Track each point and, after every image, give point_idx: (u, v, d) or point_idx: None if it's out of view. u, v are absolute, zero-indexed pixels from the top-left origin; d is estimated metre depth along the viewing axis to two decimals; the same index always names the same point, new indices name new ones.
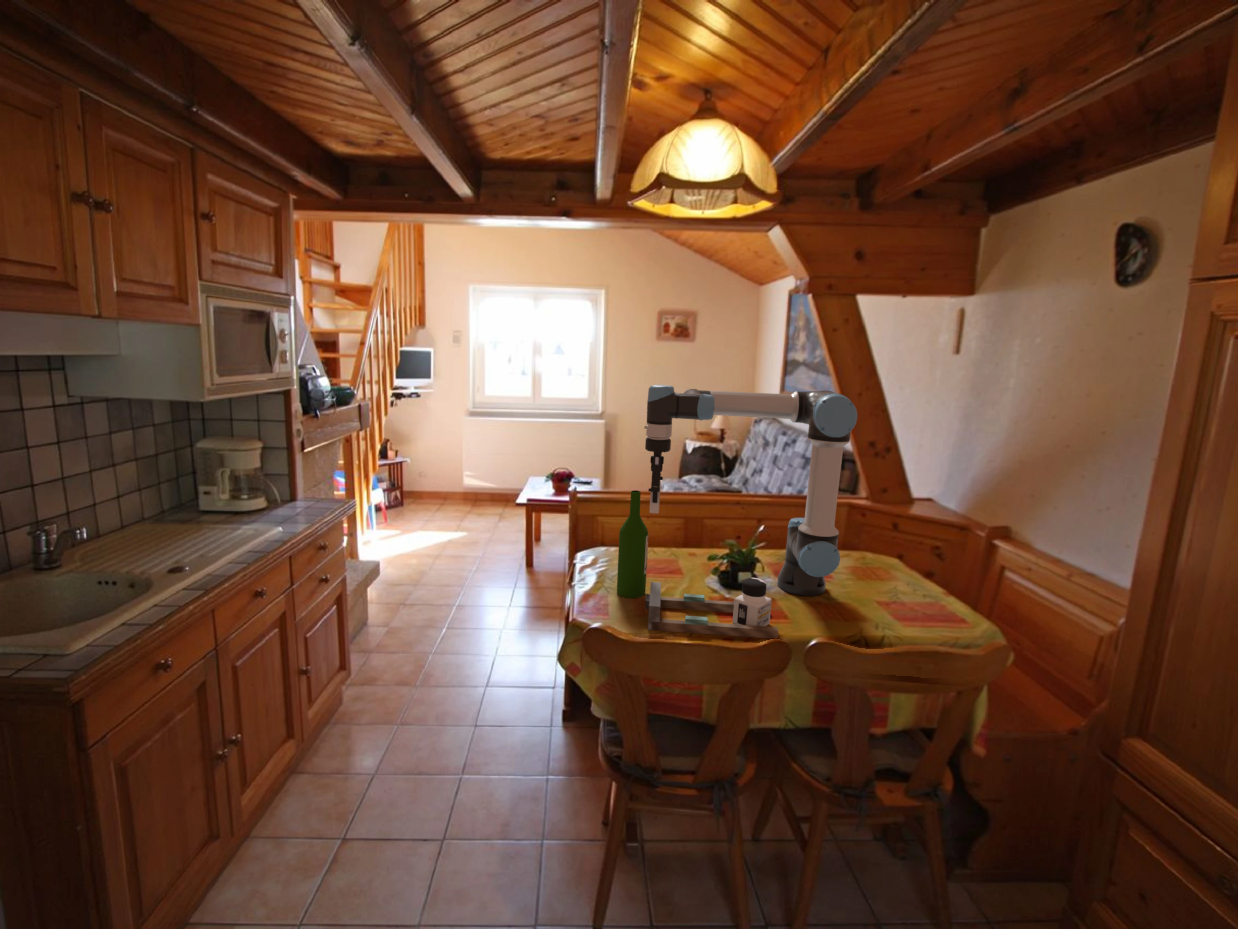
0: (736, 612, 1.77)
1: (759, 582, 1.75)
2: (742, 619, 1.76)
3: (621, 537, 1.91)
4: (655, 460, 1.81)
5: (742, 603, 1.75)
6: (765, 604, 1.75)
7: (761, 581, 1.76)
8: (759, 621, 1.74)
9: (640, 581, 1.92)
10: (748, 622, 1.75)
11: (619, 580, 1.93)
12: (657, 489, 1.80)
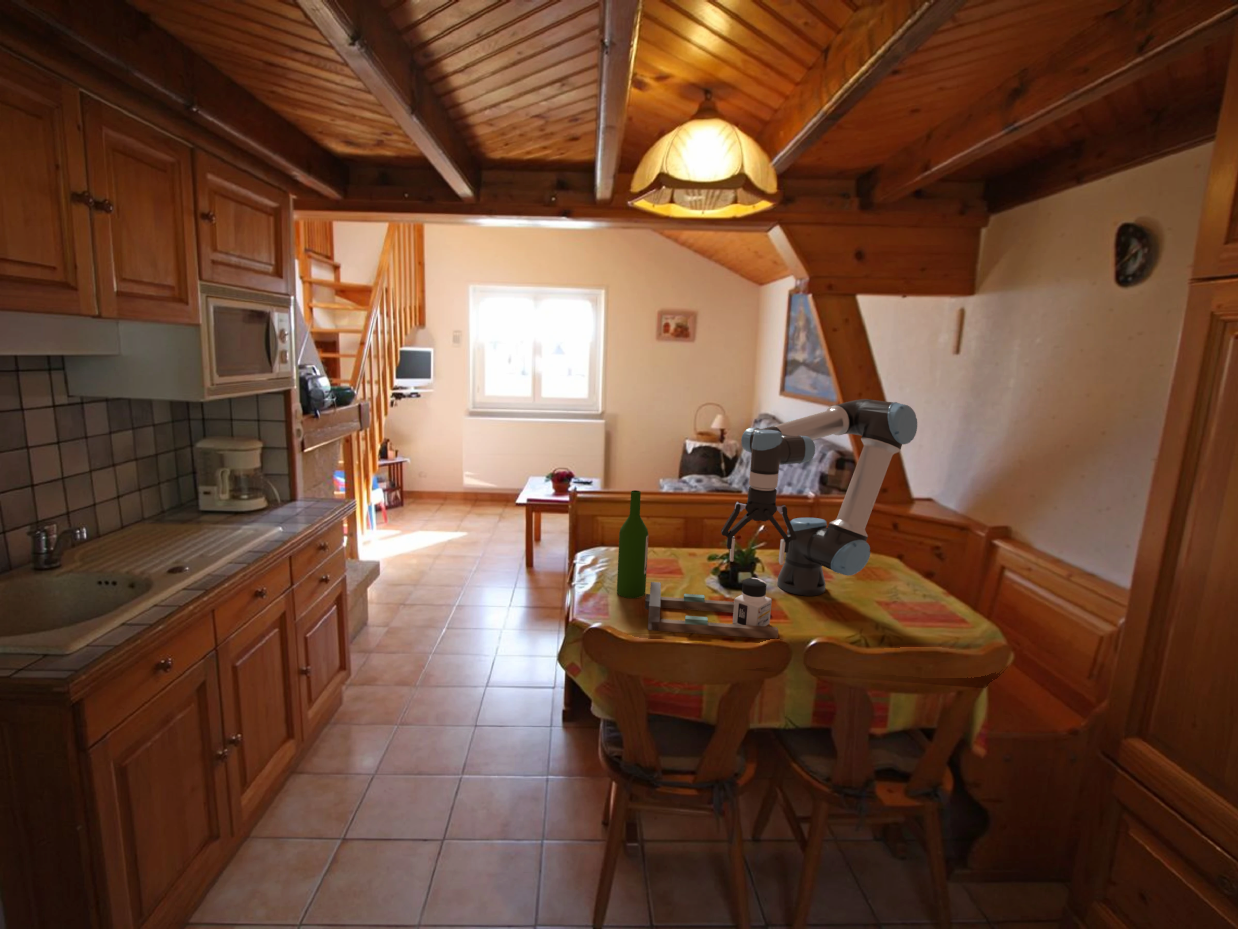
0: (736, 612, 1.77)
1: (759, 582, 1.75)
2: (742, 619, 1.76)
3: (621, 537, 1.91)
4: (735, 505, 1.73)
5: (742, 603, 1.75)
6: (765, 604, 1.75)
7: (761, 581, 1.76)
8: (759, 621, 1.74)
9: (640, 581, 1.92)
10: (748, 622, 1.75)
11: (619, 580, 1.93)
12: (721, 532, 1.73)
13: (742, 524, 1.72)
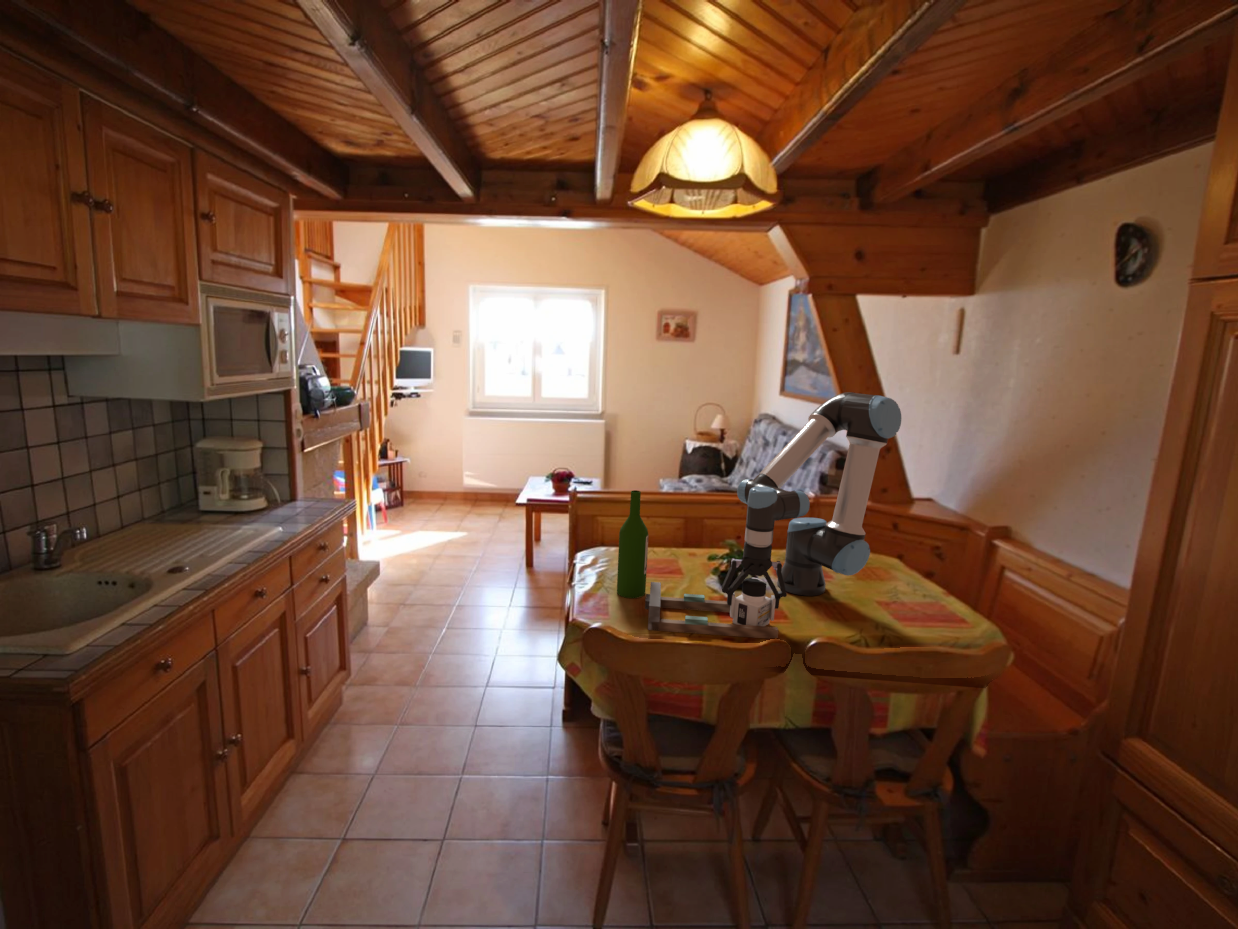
0: (736, 612, 1.77)
1: (759, 582, 1.75)
2: (742, 619, 1.76)
3: (621, 537, 1.91)
4: (731, 561, 1.76)
5: (742, 603, 1.75)
6: (765, 604, 1.75)
7: (761, 581, 1.76)
8: (759, 621, 1.74)
9: (640, 581, 1.92)
10: (747, 622, 1.75)
11: (619, 580, 1.93)
12: (722, 589, 1.77)
13: (740, 580, 1.75)
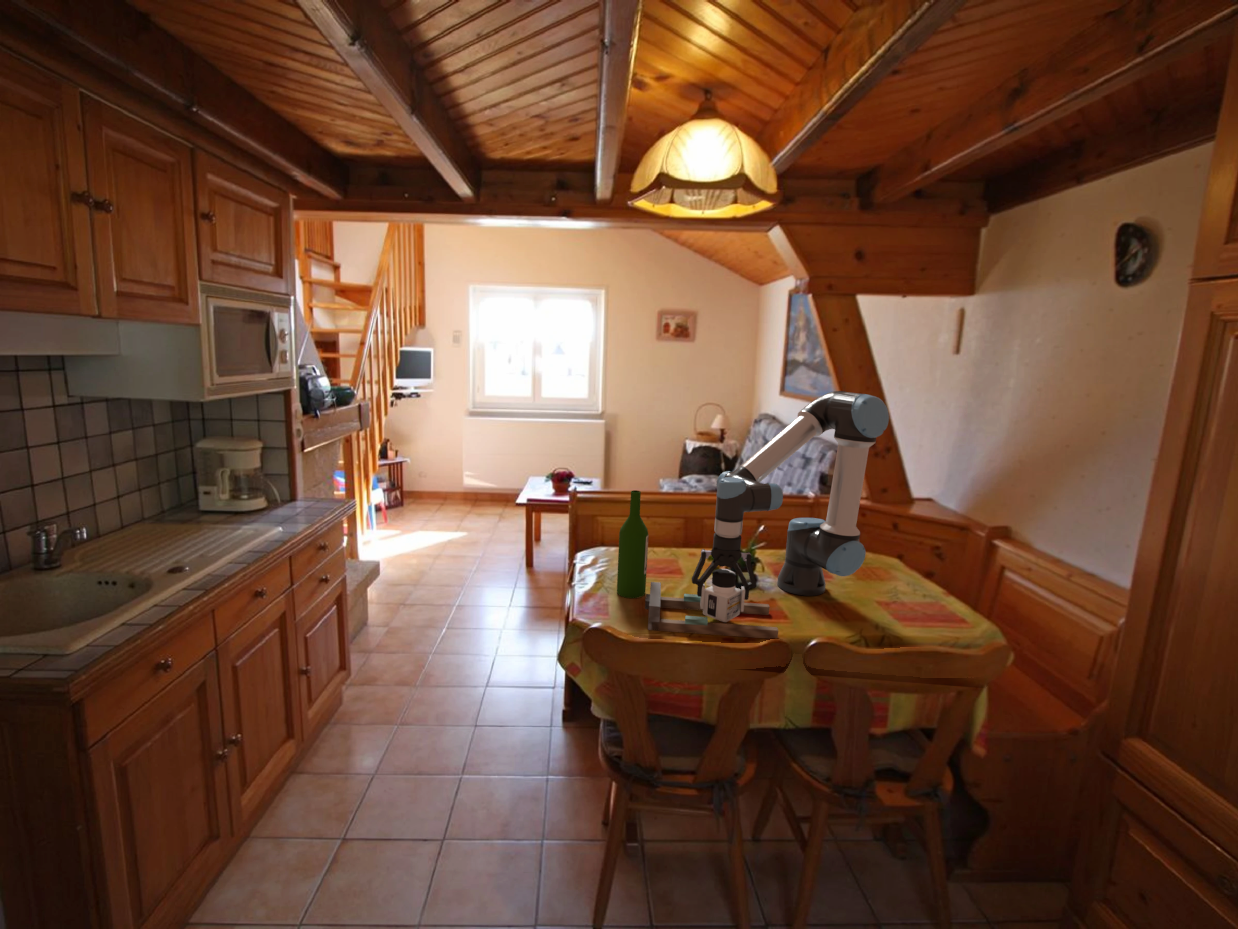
0: (706, 603, 1.77)
1: (729, 573, 1.75)
2: (712, 610, 1.76)
3: (621, 537, 1.91)
4: (701, 552, 1.76)
5: (712, 594, 1.75)
6: (735, 595, 1.75)
7: (731, 572, 1.76)
8: (728, 612, 1.74)
9: (640, 581, 1.92)
10: (717, 613, 1.75)
11: (619, 580, 1.93)
12: (692, 580, 1.77)
13: (710, 571, 1.75)
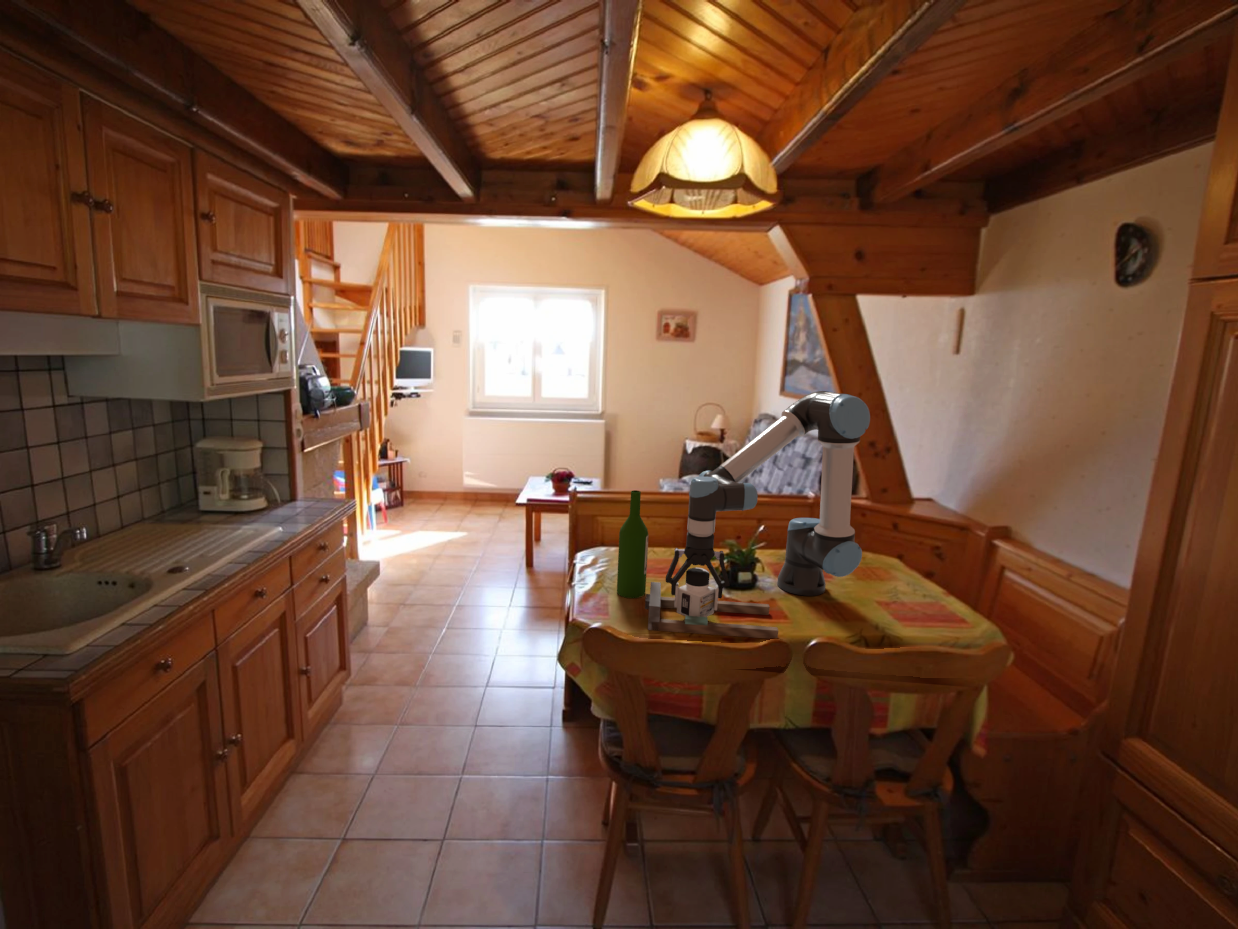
0: (680, 602, 1.78)
1: (702, 572, 1.75)
2: (685, 608, 1.76)
3: (621, 537, 1.91)
4: None
5: (685, 593, 1.76)
6: (708, 593, 1.76)
7: (704, 571, 1.76)
8: (701, 611, 1.74)
9: (640, 581, 1.92)
10: (690, 612, 1.75)
11: (619, 580, 1.93)
12: None
13: (683, 570, 1.76)
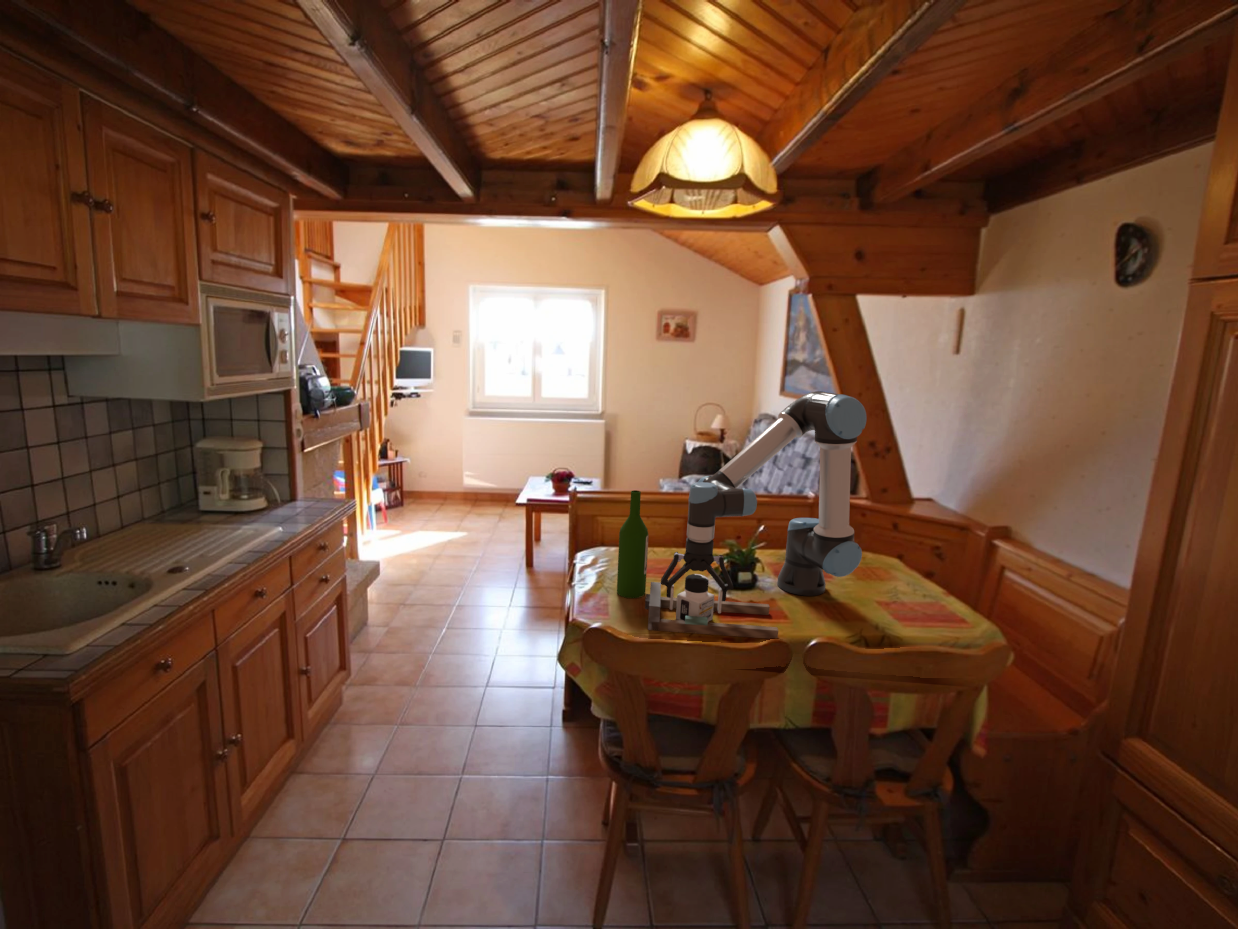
0: (679, 608, 1.78)
1: (701, 578, 1.76)
2: (684, 615, 1.77)
3: (621, 537, 1.91)
4: (674, 555, 1.77)
5: (684, 599, 1.76)
6: (707, 600, 1.76)
7: (703, 577, 1.77)
8: None
9: (640, 581, 1.92)
10: None
11: (619, 580, 1.93)
12: (661, 582, 1.78)
13: (680, 574, 1.76)
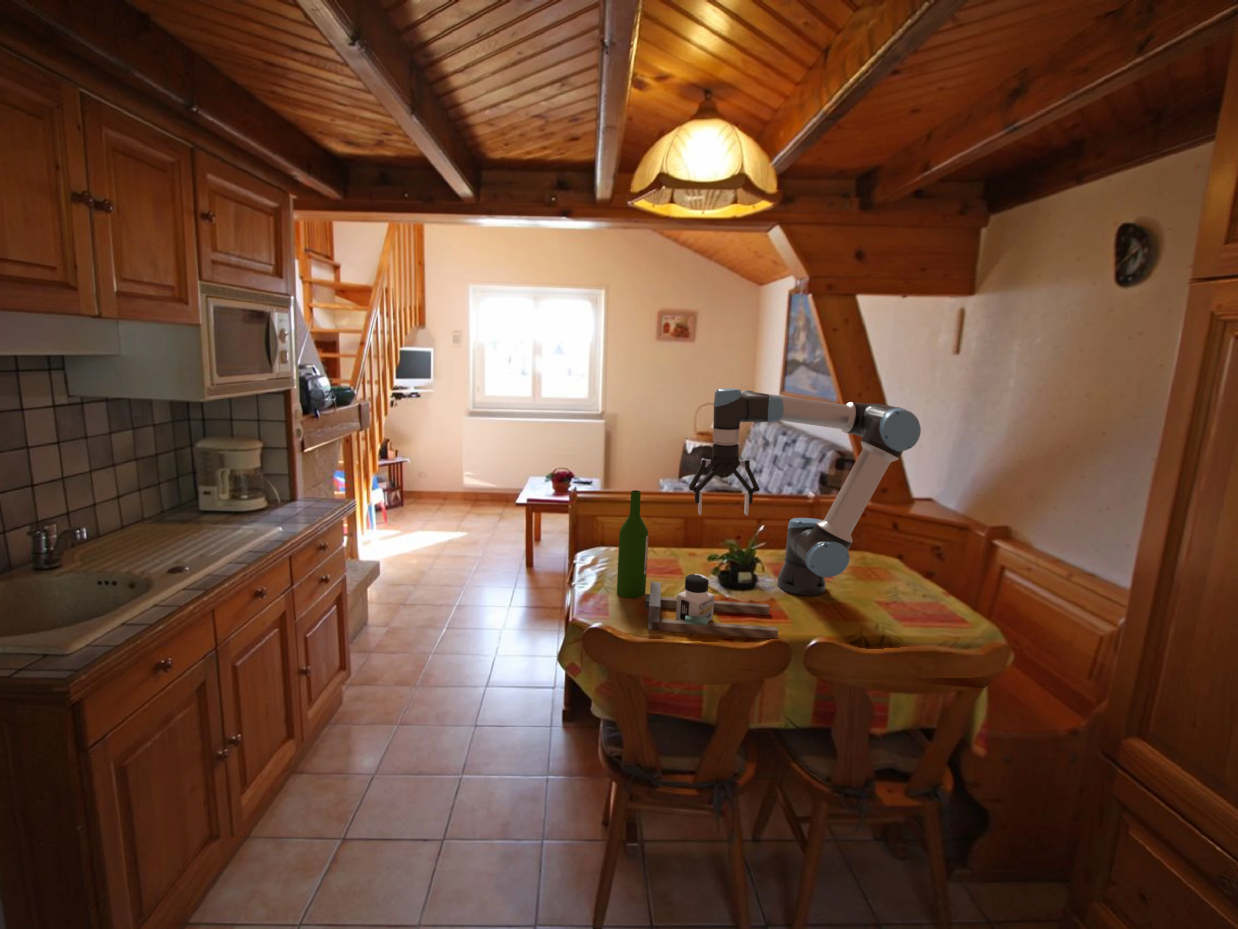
0: (679, 608, 1.78)
1: (701, 578, 1.76)
2: (684, 615, 1.77)
3: (621, 537, 1.91)
4: (701, 461, 1.83)
5: (684, 599, 1.76)
6: (707, 600, 1.76)
7: (703, 577, 1.77)
8: None
9: (640, 581, 1.92)
10: None
11: (619, 580, 1.93)
12: (689, 487, 1.84)
13: (708, 478, 1.82)
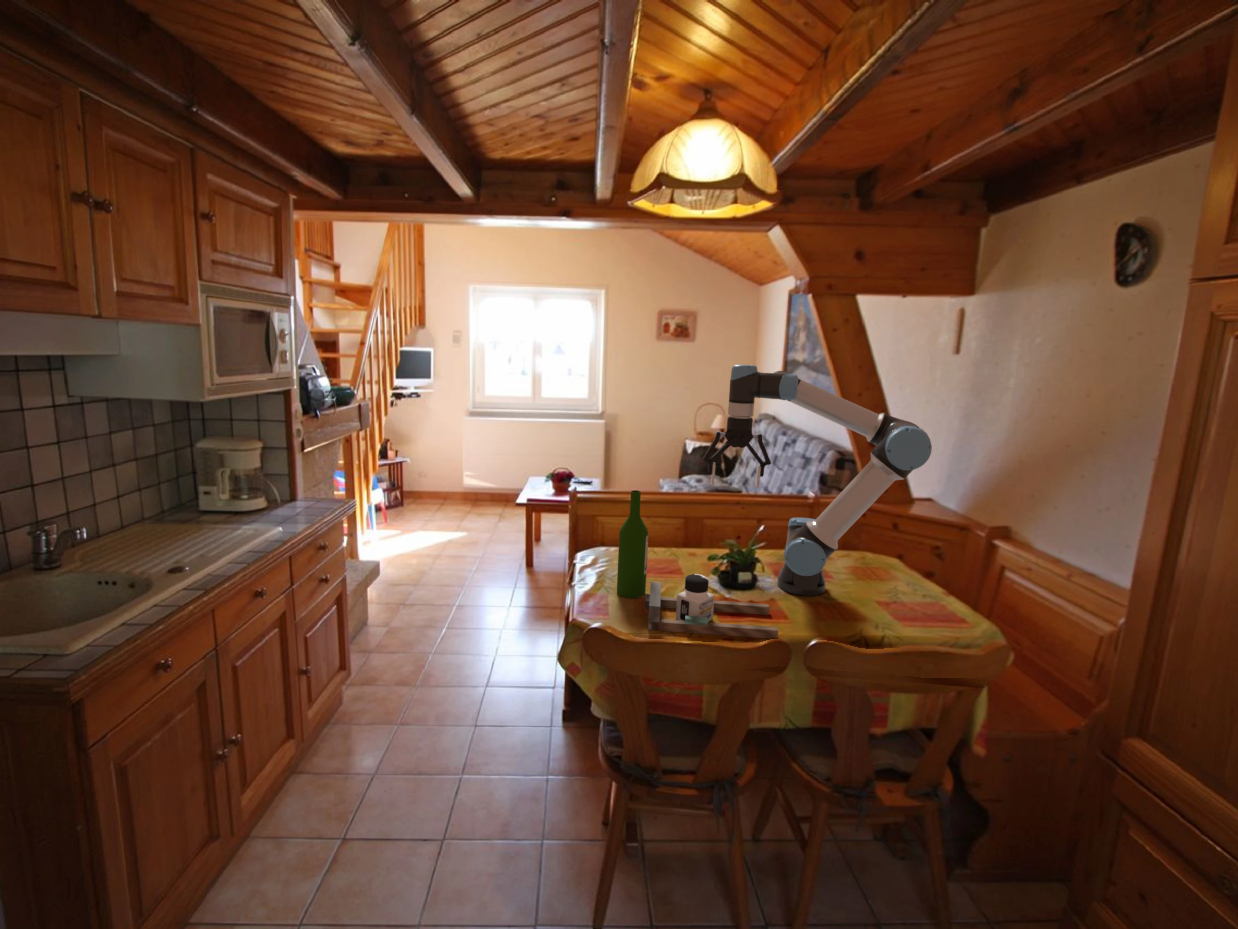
0: (679, 608, 1.78)
1: (701, 578, 1.76)
2: (684, 615, 1.77)
3: (621, 537, 1.91)
4: None
5: (684, 599, 1.76)
6: (707, 600, 1.76)
7: (703, 577, 1.77)
8: None
9: (640, 581, 1.92)
10: None
11: (619, 580, 1.93)
12: (703, 458, 1.92)
13: (722, 450, 1.90)
